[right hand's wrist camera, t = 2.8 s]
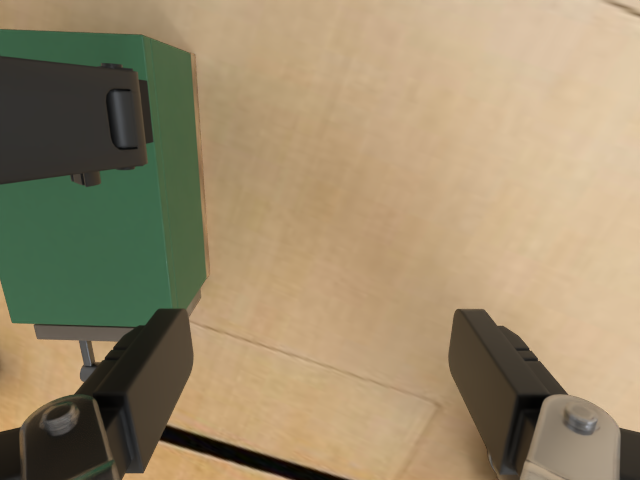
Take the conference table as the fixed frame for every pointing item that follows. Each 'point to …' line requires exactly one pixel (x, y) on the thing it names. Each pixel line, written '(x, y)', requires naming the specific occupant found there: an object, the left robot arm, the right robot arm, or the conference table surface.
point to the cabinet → (111, 202)
